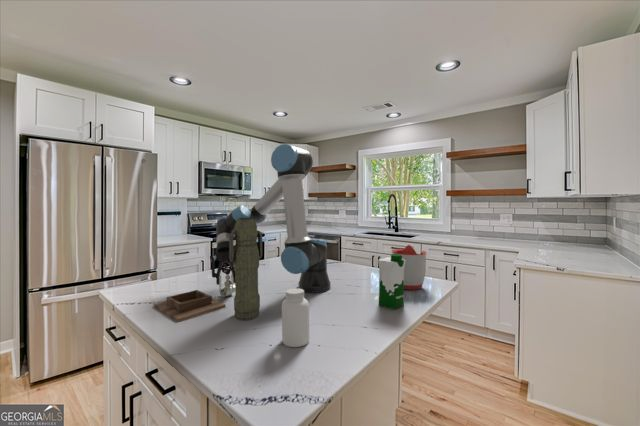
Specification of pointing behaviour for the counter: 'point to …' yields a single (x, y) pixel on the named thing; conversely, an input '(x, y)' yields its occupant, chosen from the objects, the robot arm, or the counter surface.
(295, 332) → the pill bottle
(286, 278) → the counter surface
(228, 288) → the valve
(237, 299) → the thermos
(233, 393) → the counter surface
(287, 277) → the counter surface
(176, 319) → the dock board
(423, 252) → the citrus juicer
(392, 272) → the milk carton
